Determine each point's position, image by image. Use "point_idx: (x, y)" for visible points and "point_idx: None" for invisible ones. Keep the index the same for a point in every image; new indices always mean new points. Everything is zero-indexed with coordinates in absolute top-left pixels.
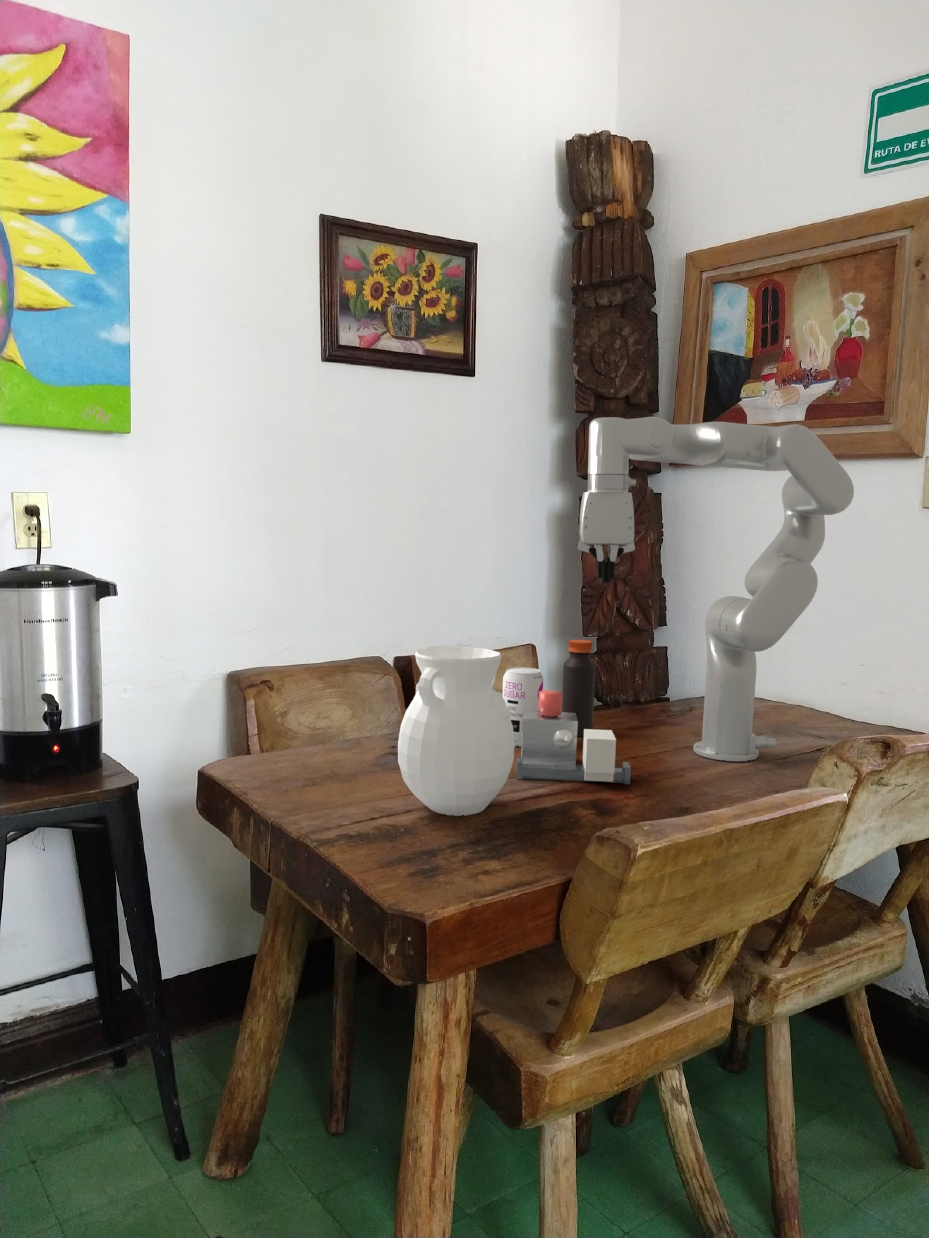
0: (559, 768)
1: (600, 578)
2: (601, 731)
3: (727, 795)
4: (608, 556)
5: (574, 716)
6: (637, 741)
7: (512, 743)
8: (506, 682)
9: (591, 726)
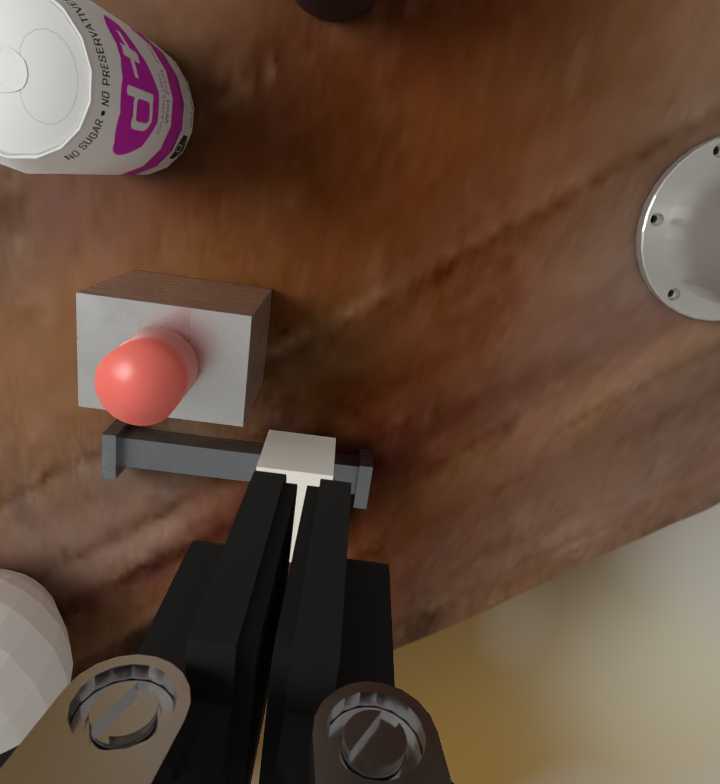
0: (207, 472)
1: (250, 487)
2: (301, 489)
3: (546, 551)
4: (312, 756)
5: (241, 368)
6: (516, 80)
7: None
8: None
9: None
